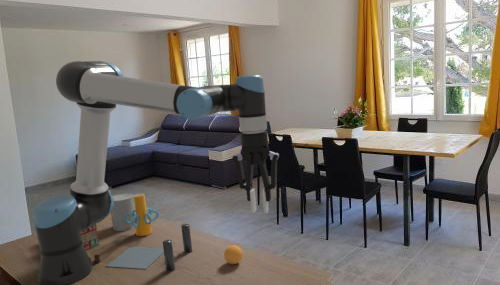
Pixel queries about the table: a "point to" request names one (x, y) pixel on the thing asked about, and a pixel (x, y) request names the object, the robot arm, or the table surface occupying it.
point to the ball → (233, 254)
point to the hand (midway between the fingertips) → (260, 211)
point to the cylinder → (141, 216)
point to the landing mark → (137, 258)
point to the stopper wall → (105, 252)
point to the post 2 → (186, 238)
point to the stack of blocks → (90, 237)
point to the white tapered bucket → (122, 211)
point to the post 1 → (168, 255)
